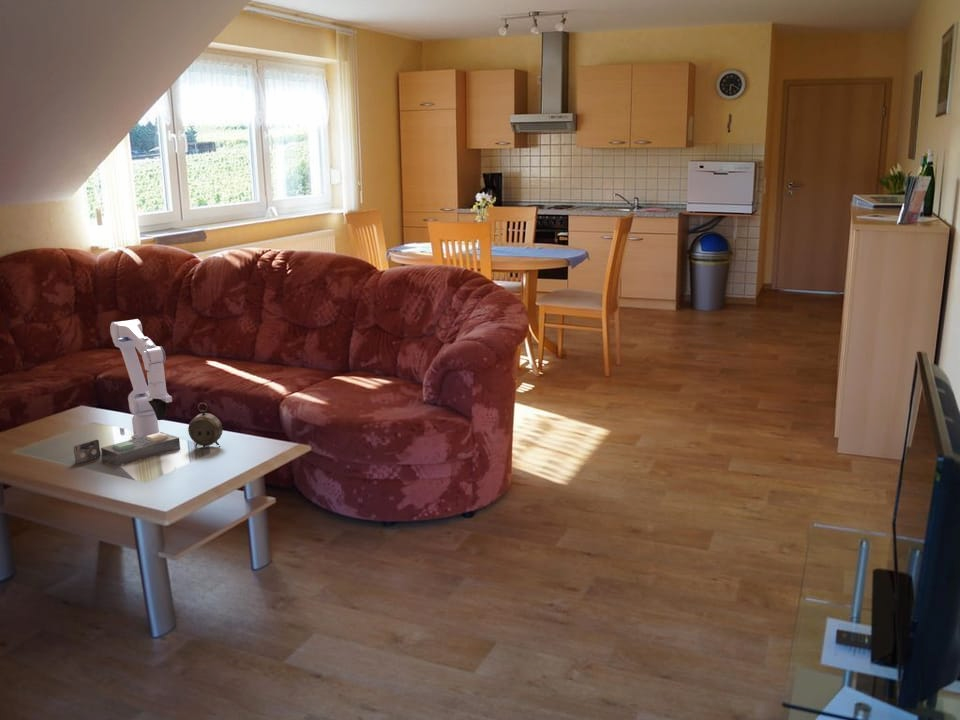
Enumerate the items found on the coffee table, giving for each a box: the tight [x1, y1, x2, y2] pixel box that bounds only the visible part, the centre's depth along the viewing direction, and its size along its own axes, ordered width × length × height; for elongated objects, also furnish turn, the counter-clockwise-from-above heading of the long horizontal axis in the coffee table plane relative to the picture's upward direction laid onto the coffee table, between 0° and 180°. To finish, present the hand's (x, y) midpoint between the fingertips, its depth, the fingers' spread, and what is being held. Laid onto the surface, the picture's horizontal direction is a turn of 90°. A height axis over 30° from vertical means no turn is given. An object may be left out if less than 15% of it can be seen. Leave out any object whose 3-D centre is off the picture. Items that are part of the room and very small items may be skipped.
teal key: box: [112, 440, 135, 451], centre depth 292 cm, size 5×5×4 cm
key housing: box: [100, 431, 181, 467], centre depth 296 cm, size 12×22×4 cm, turn 140°
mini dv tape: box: [73, 439, 102, 463], centre depth 292 cm, size 8×2×6 cm, turn 144°
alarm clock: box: [187, 402, 223, 450], centre depth 299 cm, size 11×5×16 cm, turn 84°
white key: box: [146, 432, 167, 442], centre depth 301 cm, size 5×5×4 cm
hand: (161, 419), depth 304 cm, fingers closed
